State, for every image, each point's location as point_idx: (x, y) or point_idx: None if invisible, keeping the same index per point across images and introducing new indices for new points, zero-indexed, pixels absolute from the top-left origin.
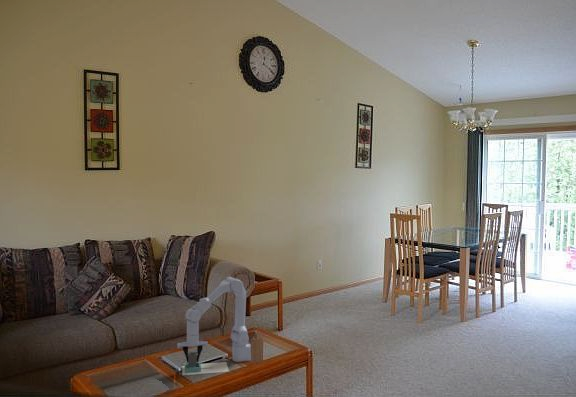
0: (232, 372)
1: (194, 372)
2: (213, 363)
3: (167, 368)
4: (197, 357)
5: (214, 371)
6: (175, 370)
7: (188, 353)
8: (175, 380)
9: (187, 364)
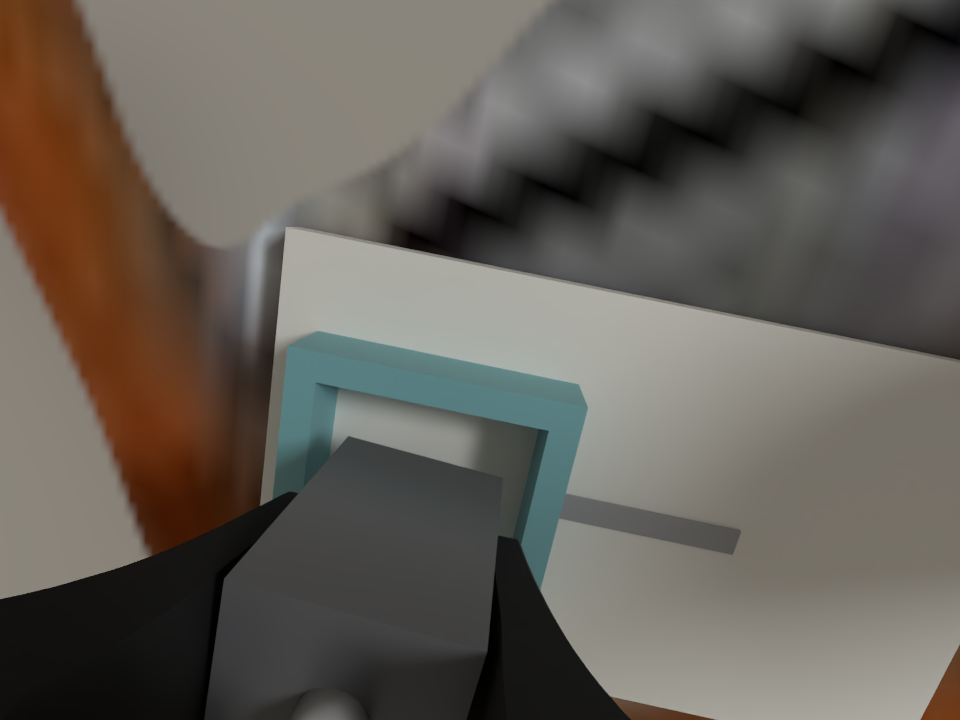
0: (944, 702)
1: None
2: (836, 364)
3: (72, 154)
4: (470, 714)
5: (706, 681)
6: (194, 299)
7: (212, 677)
8: None
9: (342, 380)
